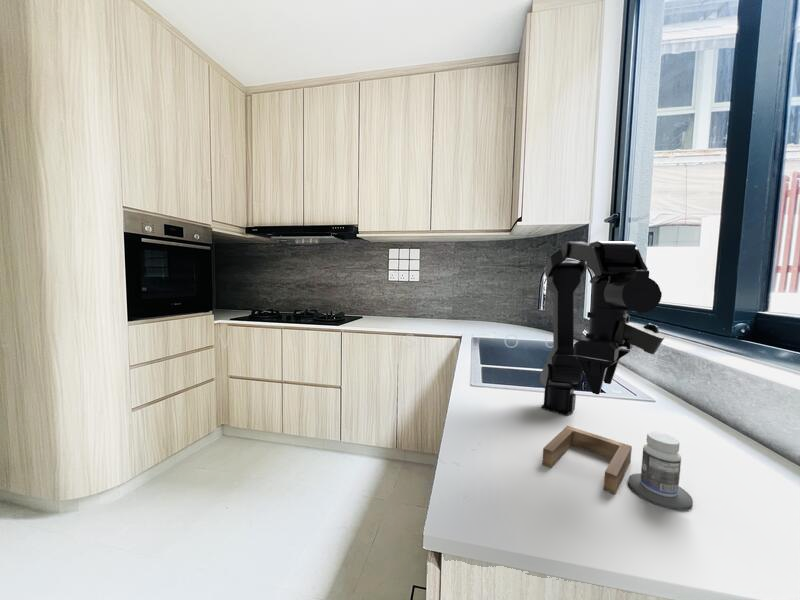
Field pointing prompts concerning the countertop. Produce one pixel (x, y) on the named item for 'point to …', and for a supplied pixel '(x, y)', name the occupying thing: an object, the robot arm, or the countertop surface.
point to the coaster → (677, 502)
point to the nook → (592, 443)
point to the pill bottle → (661, 464)
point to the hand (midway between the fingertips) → (601, 388)
